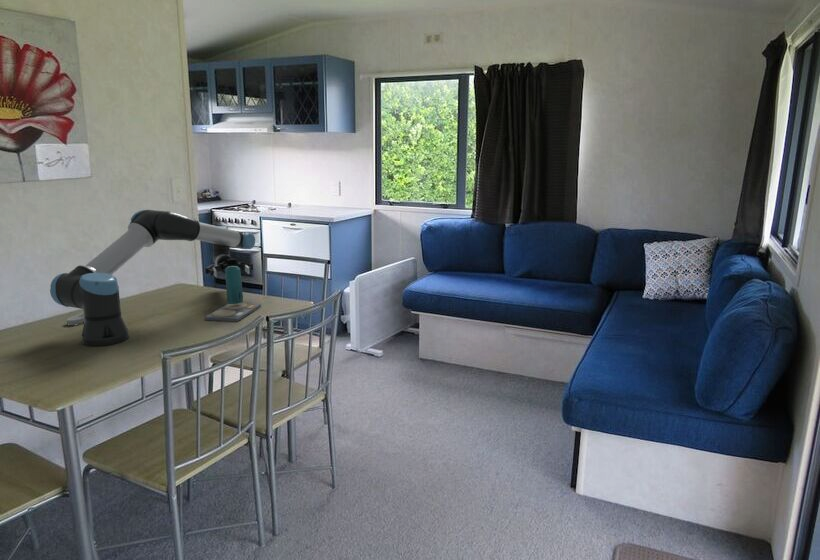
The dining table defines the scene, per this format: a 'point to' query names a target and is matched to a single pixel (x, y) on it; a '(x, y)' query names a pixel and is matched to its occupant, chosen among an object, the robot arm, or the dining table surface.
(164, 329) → the dining table surface
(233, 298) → the beverage bottle
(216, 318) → the dark grey flat block
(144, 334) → the dining table surface
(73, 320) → the electronic device
